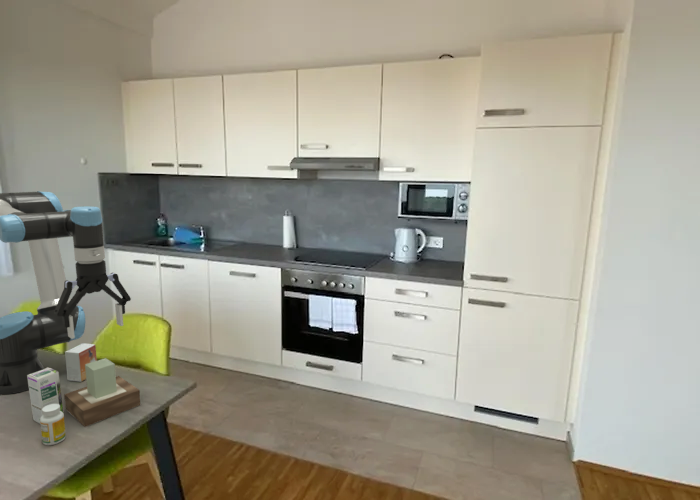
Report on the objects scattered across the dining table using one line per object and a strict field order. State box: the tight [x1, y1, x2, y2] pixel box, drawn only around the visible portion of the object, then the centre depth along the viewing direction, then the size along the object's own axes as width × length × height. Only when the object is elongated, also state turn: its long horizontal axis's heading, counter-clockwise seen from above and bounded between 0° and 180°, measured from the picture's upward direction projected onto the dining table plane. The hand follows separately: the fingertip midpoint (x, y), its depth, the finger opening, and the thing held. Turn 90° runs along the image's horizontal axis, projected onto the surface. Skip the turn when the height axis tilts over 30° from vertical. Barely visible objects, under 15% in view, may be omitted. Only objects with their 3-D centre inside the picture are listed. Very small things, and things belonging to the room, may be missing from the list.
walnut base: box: [64, 375, 141, 428], centre depth 139 cm, size 14×16×5 cm
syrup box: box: [27, 367, 65, 425], centre depth 132 cm, size 6×6×14 cm
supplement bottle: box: [39, 404, 67, 446], centre depth 123 cm, size 5×5×10 cm
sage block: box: [85, 357, 117, 399], centre depth 138 cm, size 6×6×9 cm
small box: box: [64, 342, 98, 383], centre depth 158 cm, size 8×6×10 cm
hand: (96, 330), depth 135 cm, fingers open, 13 cm apart
